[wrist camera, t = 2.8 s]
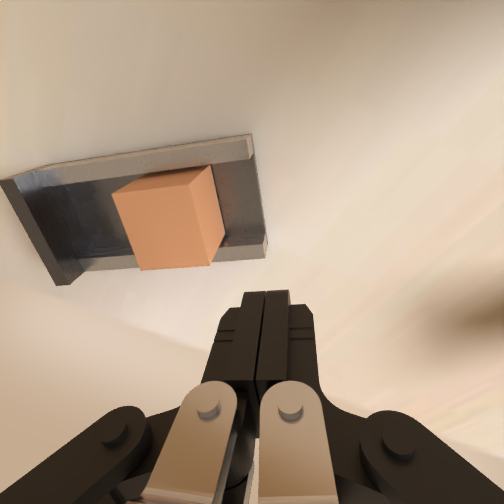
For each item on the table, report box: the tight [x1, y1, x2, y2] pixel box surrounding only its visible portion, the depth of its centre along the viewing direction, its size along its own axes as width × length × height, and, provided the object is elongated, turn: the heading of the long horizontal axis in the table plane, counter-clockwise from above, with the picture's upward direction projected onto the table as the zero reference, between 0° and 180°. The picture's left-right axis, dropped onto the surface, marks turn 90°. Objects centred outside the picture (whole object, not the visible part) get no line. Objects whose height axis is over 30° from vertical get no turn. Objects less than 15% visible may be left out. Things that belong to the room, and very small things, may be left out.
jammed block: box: [111, 165, 225, 271], centre depth 21 cm, size 5×6×5 cm
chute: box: [0, 134, 268, 286], centre depth 23 cm, size 17×9×4 cm, turn 99°
